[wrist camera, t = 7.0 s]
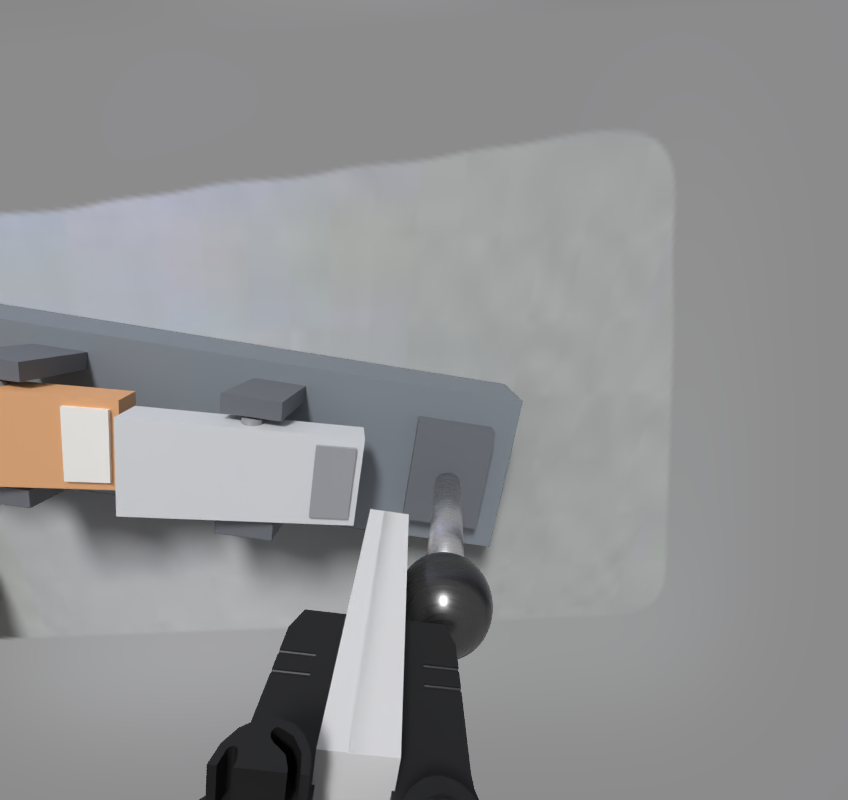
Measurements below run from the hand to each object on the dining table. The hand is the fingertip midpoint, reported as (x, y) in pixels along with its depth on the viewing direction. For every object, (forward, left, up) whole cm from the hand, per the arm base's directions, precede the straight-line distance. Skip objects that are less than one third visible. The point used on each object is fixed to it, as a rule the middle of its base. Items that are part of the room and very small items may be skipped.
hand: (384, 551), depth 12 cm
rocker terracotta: (-16, 0, -5) cm, 17 cm away
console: (-11, 0, -12) cm, 16 cm away
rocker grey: (-6, 0, -5) cm, 8 cm away
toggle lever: (+2, 0, -7) cm, 7 cm away
